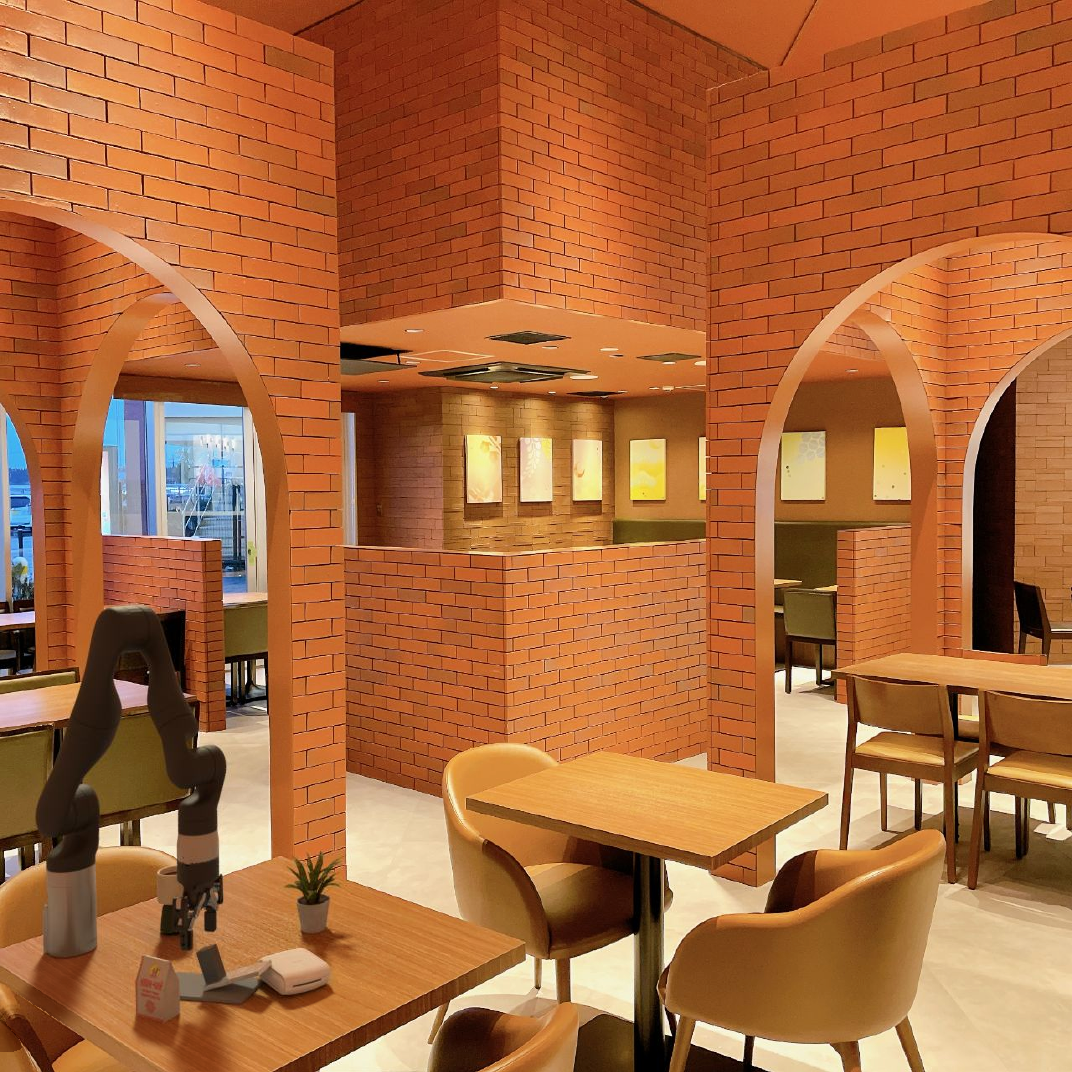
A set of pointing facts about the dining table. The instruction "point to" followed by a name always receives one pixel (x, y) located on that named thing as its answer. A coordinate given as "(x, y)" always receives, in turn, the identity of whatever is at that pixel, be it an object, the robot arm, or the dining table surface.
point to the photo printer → (295, 971)
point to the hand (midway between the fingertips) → (198, 940)
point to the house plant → (313, 894)
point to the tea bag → (157, 989)
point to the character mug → (168, 895)
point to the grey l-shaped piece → (216, 972)
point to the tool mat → (215, 989)
